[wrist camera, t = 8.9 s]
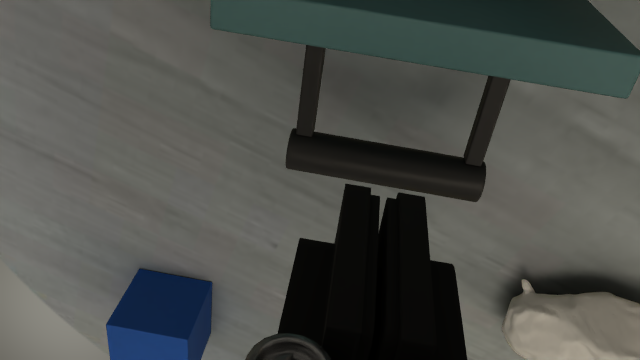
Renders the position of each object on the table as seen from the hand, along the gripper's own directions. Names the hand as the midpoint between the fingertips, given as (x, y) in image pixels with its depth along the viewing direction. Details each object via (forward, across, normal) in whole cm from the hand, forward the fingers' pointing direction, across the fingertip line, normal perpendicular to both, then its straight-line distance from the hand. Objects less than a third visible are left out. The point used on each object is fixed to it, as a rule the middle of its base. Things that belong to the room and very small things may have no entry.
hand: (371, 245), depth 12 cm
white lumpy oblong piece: (+14, -14, +13) cm, 24 cm away
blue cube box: (+14, +9, +18) cm, 25 cm away
